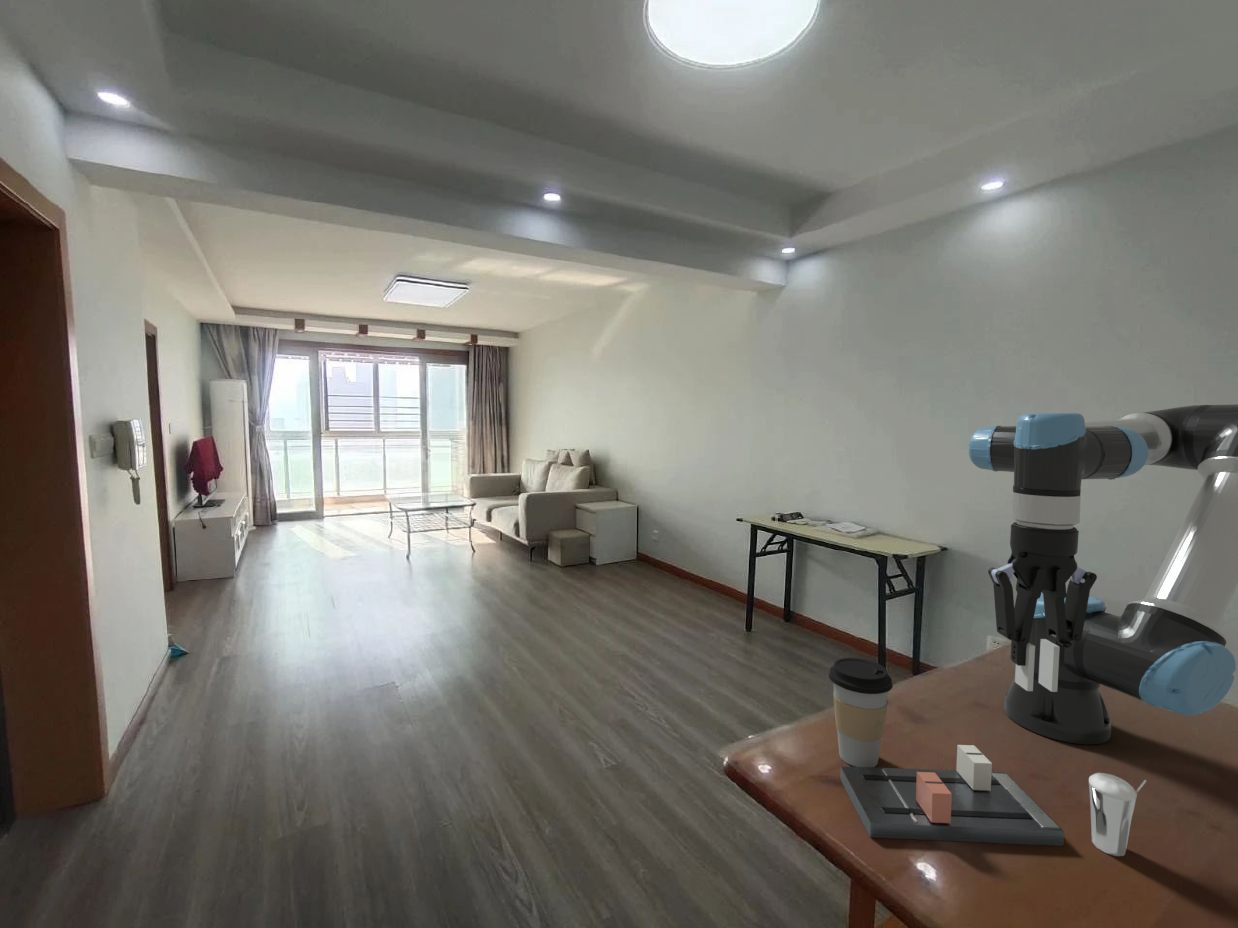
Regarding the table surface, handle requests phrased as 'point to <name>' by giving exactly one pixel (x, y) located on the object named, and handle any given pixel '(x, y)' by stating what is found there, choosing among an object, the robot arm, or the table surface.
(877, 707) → the coffee cup
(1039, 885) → the table surface
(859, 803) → the console
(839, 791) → the table surface
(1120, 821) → the milkshake
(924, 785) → the fader
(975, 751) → the fader
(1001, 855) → the table surface
